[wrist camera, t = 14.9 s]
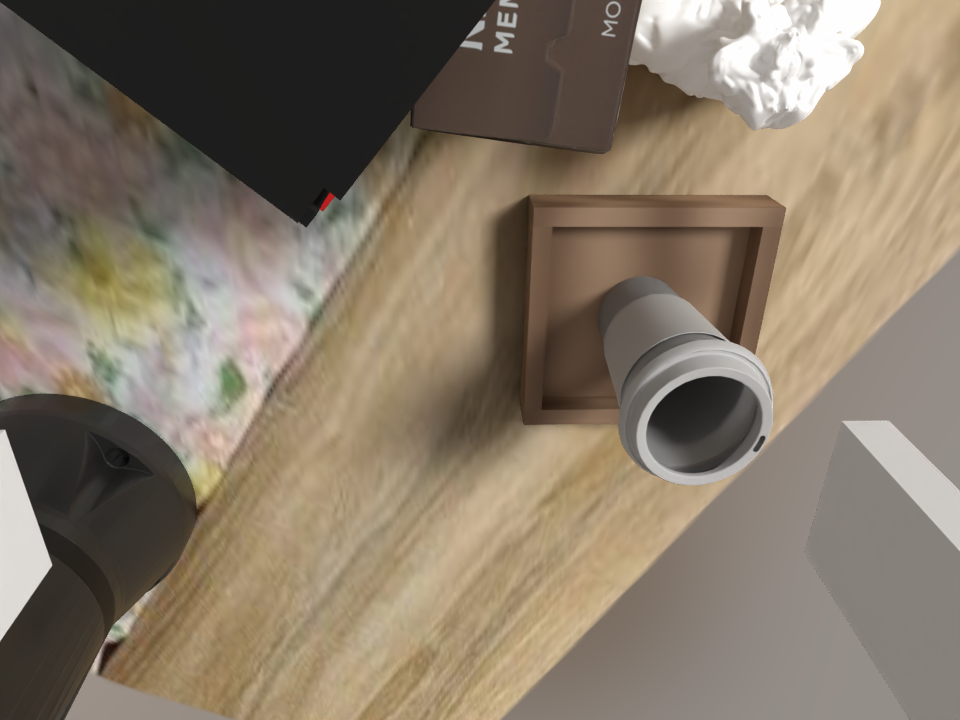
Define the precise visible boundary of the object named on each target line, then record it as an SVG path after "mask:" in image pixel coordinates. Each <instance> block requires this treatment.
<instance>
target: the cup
mask: <svg viewBox="0 0 960 720" xmlns="http://www.w3.org/2000/svg"><path fill="white" fill-rule="evenodd" d="M598 324H599V328H600V332H601V335H602V339H603V342H604V355H605V358H606V362H607V365H608V369H609V372H610V376H611V379H612V383H613V387H614V390H615V394H616V397H617V401H618V404H619V408H620V410H619V416H618V429H619V435H620V439H621V442H622V445H623V447H624V449H625V450H626V452H627V453H628V455H629V456H630V457H631V458H632V460H633V461H634V462H635V463H636V464H637V465H638V466H640V467H641V468H642V469H644V470H645V471H647V472H649V473H650V474H652V475H655V476H658V477H660V478H662V479H663V480H666V481H668V482H671V483H675V484H681V485H703V484H709V483H713V482H716V481H719V480H722V479H725V478H727V477H729V476H731V475H733V474H735V473H736V472H738V471H739V470H741V469H742V468H743V467H745V466H746V465H748V464H749V463H750V462H751V461H752V460H753V459H754V458H755V457H756V456H757V454H758V453H759V452H760V450H761V449H762V448H763V446H764V445H765V443H766V440H767V438H768V436H769V434H770V431H771V427H772V423H773V408H772V405H773V392H772V387H771V381H770V378H769V375H768V373H767V370H766V369H765V367H764V365H763V364H762V362H761V361H760V360H759V359H758V358H757V357H756V356H755V355H754V354H753V353H752V352H750V351H749V350H747V349H746V348H744V347H742V346H740V345H738V344H735V343H732V342H730V341H729V340H728V339H726V338H725V337H724V336H723V335H722V334H721V333H720V332H719V331H718V330H717V329H716V328H715V327H714V326H713V325H712V324H711V323H710V322H709V321H708V320H707V319H706V318H705V317H704V316H703V315H702V314H701V313H700V312H699V311H697V310H696V309H695V308H694V307H693V306H692V305H691V304H690V303H689V302H687V301H686V300H684V299H683V298H680V297H679V296H678V295H677V294H676V293H675V292H674V291H673V290H672V289H671V288H670V287H669V286H668V285H667V284H666V283H664V282H663V281H661V280H659V279H656V278H652V277H645V276H641V277H633V278H630V279H627V280H624V281H622V282H620V283H619V284H617V285H616V286H614V287H613V288H612V289H611V290H610V291H609V292H608V293H607V294H606V296H605V297H604V299H603V300H602V302H601V305H600V308H599V311H598Z"/></svg>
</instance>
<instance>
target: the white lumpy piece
mask: <svg viewBox="0 0 960 720" xmlns="http://www.w3.org/2000/svg"><path fill="white" fill-rule="evenodd" d="M879 7H880V0H642V3H641V8H640V13H639V17H638V22H637V27H636V31H635V36H634V41H633V46H632V51H631V55H630V60H629V65H640V64H644V65H646V66H647V67H648V69H649V71H650V72H651V73H657V74H659V75H660V77H661V78H662V80H663V81H664V82H666V83H669V84H674V85H675V86H677V87H678V88H680V89H681V90H682V91H683V92H684V93H686V94H687V95H689V96H693V95H695V96H696V97H697V98H702V97H706V98H709V99H717V100H720V101H722V102H723V104H724V106H725V107H727V108H728V109H730V110H731V111H732V112H733V113H735V114H739V115H740V117H741V118H742V119H743V120H744V121H745V122H746V123H747V125H748V126H749V128H750V129H752V130H758V129H764V128H772V129H783V128H786V127H789V126H792V125H794V124H796V123H798V122H800V121H802V120H804V119H805V118H806V117H807V116H808V115H809V114H810V113H811V112H812V111H813V109H814V108H815V106H816V104H817V102H818V100H819V99H820V98H821V96H822V95H823V94H824V92H825V91H828V90H830V89H831V88H833V87H834V86H835V85H836V84H837V83H839V82H840V81H841V80H842V79H843V78H844V77H845V76H847V75H848V74H849V72H850V70H851V67H852V65H853V64H854V63H855V62H857V61H858V60H859V59H860V58H861V57H862V55H863V53H864V48H863V45H862V44H861V42H859V41H857V40H854V38H855V37H856V36H857V35H858V34H859V33H861V32H862V31H863V30H864V29H865V28H866V27H867V25H868V24H869V23H870V22H871V21H872V19H873V18H874V17H875V15H876V13H877V12H878V10H879Z"/></svg>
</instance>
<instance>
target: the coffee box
mask: <svg viewBox="0 0 960 720" xmlns="http://www.w3.org/2000/svg"><path fill="white" fill-rule="evenodd" d="M641 3H642V0H495V2H494V3H493V4H492V5H491V7H490V8H489V9H488V11H487V12H486V13H485V15H484V16H483V17H482V18H481V20H480V21H479V22H478V24H477V25H476V26H475V27H474V29H473V30H472V31H471V33H470V34H469V35H468V36H467V38H466V39H465V40H464V42H463V43H462V44H461V45H460V47H459V48H458V49H457V51H456V52H455V53H454V54H453V56H452V57H451V58H450V60H449V61H448V62H447V63H446V65H445V66H444V67H443V69H442V70H441V71H440V73H439V74H438V75H437V76H436V78H435V79H434V80H433V82H432V83H431V84H430V85H429V87H428V88H427V89H426V91H425V92H424V93H423V94H422V96H421V97H420V98H419V100H418V101H417V102H416V103H415V105H414V106H413V107H412V109H411V122H410V126H411V127H412V128H418V129H423V130H429V131H436V132H442V133H449V134H456V135H463V136H470V137H477V138H484V139H491V140H498V141H505V142H512V143H519V144H526V145H536V146H542V147H550V148H558V149H565V150H572V151H580V152H588V153H597V154H604V153H606V152H608V151H609V150H610V149H611V146H612V141H613V137H614V132H615V128H616V124H617V119H618V114H619V110H620V105H621V100H622V95H623V90H624V85H625V80H626V75H627V70H628V65H629V60H630V55H631V51H632V46H633V41H634V36H635V31H636V27H637V22H638V17H639V13H640V8H641Z"/></svg>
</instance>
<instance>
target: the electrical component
mask: <svg viewBox="0 0 960 720" xmlns="http://www.w3.org/2000/svg"><path fill="white" fill-rule="evenodd" d="M0 2H1V3H2V4H4V5H5V6H6V7H8V8H9V9H11V10H12V11H13V12H15V13H16V14H17V15H19V16H20V17H21V18H23V19H24V20H25V21H27V22H28V23H29V24H31V25H32V26H33V27H35V28H36V29H37V30H39V31H40V32H41V33H43V34H44V35H45V36H47V37H48V38H50V39H51V40H52V41H54V42H55V43H56V44H58V45H59V46H60V47H62V48H63V49H64V50H66V51H67V52H68V53H70V54H71V55H72V56H74V57H75V58H76V59H78V60H79V61H80V62H82V63H83V64H84V65H86V66H87V67H89V68H90V69H91V70H93V71H94V72H95V73H97V74H98V75H99V76H101V77H102V78H103V79H105V80H106V81H107V82H109V83H110V84H111V85H113V86H114V87H115V88H117V89H118V90H119V91H121V92H122V93H123V94H125V95H126V96H128V97H129V98H130V99H132V100H133V101H134V102H136V103H137V104H138V105H140V106H141V107H142V108H144V109H145V110H146V111H148V112H149V113H150V114H152V115H153V116H154V117H156V118H157V119H158V120H160V121H161V122H162V123H164V124H165V125H166V126H168V127H169V128H171V129H172V130H173V131H175V132H176V133H177V134H179V135H180V136H181V137H183V138H184V139H185V140H187V141H188V142H189V143H191V144H192V145H193V146H195V147H196V148H197V149H199V150H200V151H201V152H203V153H204V154H205V155H207V156H208V157H210V158H211V159H212V160H214V161H215V162H216V163H218V164H219V165H220V166H222V167H223V168H224V169H226V170H227V171H228V172H230V173H231V174H232V175H234V176H235V177H236V178H238V179H239V180H240V181H242V182H243V183H244V184H246V185H247V186H249V187H250V188H251V189H253V190H254V191H255V192H257V193H258V194H259V195H261V196H262V197H263V198H265V199H266V200H267V201H269V202H270V203H271V204H273V205H274V206H275V207H277V208H278V209H279V210H281V211H282V212H283V213H285V214H286V215H288V216H289V217H290V218H292V219H293V220H294V221H296V222H297V223H298V222H300V223H301V224H302V225H304V226H305V227H307V226H308V225H309V223H310V222H311V221H312V219H313V218H314V217H315V216H316V214H317V213H318V211H319V209H320V210H322V211H324V209H325V208H326V207H327V206H328V204H329V203H330V202H331V201H332V199H333V198H334V197H336V198H338V199H339V200H341V199H342V198H343V196H344V195H345V194H346V192H347V191H348V190H349V189H350V187H351V186H352V185H353V183H354V182H355V181H356V179H357V178H358V177H359V176H360V174H361V173H362V172H363V170H364V169H365V168H366V167H367V165H368V164H369V163H370V161H371V160H372V159H373V158H374V156H375V155H376V154H377V152H378V151H379V150H380V149H381V147H382V146H383V145H384V143H385V142H386V141H387V140H388V138H389V137H390V136H391V134H392V133H393V132H394V131H395V129H396V128H397V127H398V125H399V124H400V123H401V121H402V120H403V119H404V118H405V116H406V115H407V114H408V112H409V111H410V110H411V109H412V107H413V106H414V105H415V103H416V102H417V101H418V100H419V98H420V97H421V96H422V94H423V93H424V92H425V91H426V89H427V88H428V87H429V85H430V84H431V83H432V82H433V80H434V79H435V78H436V76H437V75H438V74H439V73H440V71H441V70H442V69H443V67H444V66H445V65H446V63H447V62H448V61H449V60H450V58H451V57H452V56H453V54H454V53H455V52H456V51H457V49H458V48H459V47H460V45H461V44H462V43H463V42H464V40H465V39H466V38H467V36H468V35H469V34H470V33H471V31H472V30H473V29H474V27H475V26H476V25H477V24H478V22H479V21H480V20H481V18H482V17H483V16H484V15H485V13H486V12H487V11H488V9H489V8H490V7H491V5H492V4H493V3H494V2H495V0H0Z"/></svg>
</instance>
